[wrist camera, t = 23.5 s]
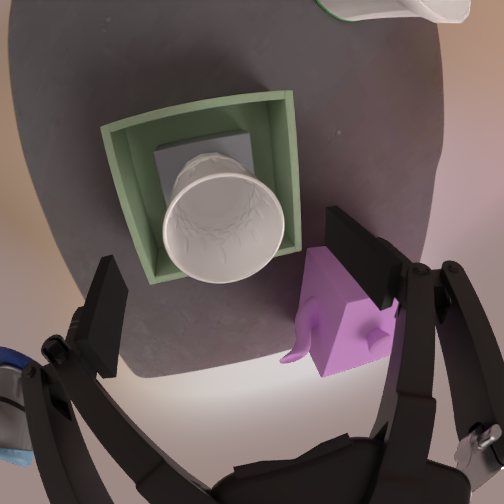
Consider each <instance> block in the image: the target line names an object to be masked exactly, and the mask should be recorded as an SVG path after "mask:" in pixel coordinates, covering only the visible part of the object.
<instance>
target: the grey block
mask: <svg viewBox="0 0 504 504" xmlns="http://www.w3.org/2000/svg"><path fill="white" fill-rule="evenodd" d="M214 152H218V153H221V154H224V155H226V156H229V157H232V158H233V159H234V160H235V161H237V162H239V163H240V164H242V165H243V166H244V167H245V168H247V169H248V170H249V171H250V172H251V173H253V174H254V175H255V173H254V164H253V156H252V148H251V140H250V133H249V132H247V131H245V130H243V129H236V130H229V131H223V132H218V133H212V134H207V135H202V136H197V137H192V138H187V139H182V140H178V141H173V142H169V143H165V144H161V145H158V146H157V148H156V149H155V151H154V157H155V161H156V166H157V170H158V174H159V178H160V182H161V187H162V191H163V195H164V199H165V202H166V206H168V202H169V199H170V195H171V192H172V189H173V186H174V184H175V181H176V179H177V176H178V174H179V173H180V171H181V170H182V168H183V167H184V165H185V164H186V162H188V161H189V160H191V159H193V158H194V157H196V156H198V155H200V154H203V153H214Z"/></svg>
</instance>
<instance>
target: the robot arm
mask: <svg viewBox="0 0 504 504" xmlns="http://www.w3.org/2000/svg"><path fill="white" fill-rule="evenodd" d="M325 246H326V247H327V248H328V249H329V250H330V252H331V253H332V254H333V255H334V256H335V257H336V258H337V260H338V261H339V262H340V263H341V264H342V265H343V267H344V268H345V269H346V270H347V271H348V272H349V274H350V275H351V276H352V277H353V278H354V280H355V281H356V282H357V283H358V284H359V286H360V287H361V288H362V289H363V290H364V292H365V293H366V294H367V295H368V297H369V298H370V299H371V300H372V301H373V303H374V304H375V305H376V306H377V308H378V309H379V310H380V311H382V310H385V309H387V308H390V307H392V305H393V301H394V298H395V299H396V300H397V301H398V302H399V303H398V306H397V310H396V313H395V316H394V318H396V322H395V330H394V337H393V344H392V350H391V356H390V361H389V367H388V372H387V377H386V382H385V386H384V391H383V396H382V399H381V403H380V407H379V411H378V415H377V419H376V422H375V424H374V426H373V429H372V431H371V433H370V436H369V438H368V437H349V435H348V433H346V434H343V435H341V436H338V437H336V438H334V439H331V440H328V441H325V442H323V443H320V444H319V445H318V446H316V447H314V448H312V449H311V450H309V451H308V452H306V453H304V454H303V455H301V456H299V457H298V458H296V459H291V460H276V461H275V460H273V461H259V462H255V463H250V464H246V465H241V466H236V467H233V468H234V472H233V473H231V474H229V475H227V476H225V477H224V478H222V479H221V480H220V481H218V482H217V483H216V484H215V485H214V486H213V487H212V489H211V488H209V487H208V486H207V485H205V484H204V483H202V482H201V481H199V480H198V479H196V478H195V477H194V476H192V475H191V474H189V473H188V472H187V471H186V470H185V469H183V468H182V467H181V466H180V465H179V464H177V463H176V462H175V461H174V460H173V459H171V458H170V457H169V456H168V455H167V454H166V453H165V452H164V451H163V450H161V449H160V448H159V447H158V446H157V445H156V444H155V443H154V442H153V441H152V440H151V439H150V438H149V437H148V436H147V435H146V434H145V433H144V432H143V431H142V430H141V429H140V428H139V427H138V426H137V425H136V424H135V423H134V422H133V421H132V420H131V419H130V418H129V417H128V415H126V414H125V412H124V411H123V410H122V409H121V408H120V407H119V405H118V404H117V403H116V402H115V401H114V400H113V398H112V397H111V396H110V395H109V394H108V392H107V391H106V390H105V389H104V388H103V386H102V385H101V384H100V383H99V381H98V380H97V379H96V375H97V372H98V373H99V375H100V376H101V377H102V378H103V379H104V378H113V377H116V374H117V364H118V355H119V347H120V339H121V332H122V325H123V319H124V313H125V307H126V301H127V296H128V288H127V286H126V284H125V282H124V280H123V278H122V275H121V273H120V271H119V269H118V266H117V264H116V262H115V259H114V257H113V255H109V256H105V257H102V258H101V260H100V263H99V265H98V268H97V270H96V273H95V276H94V278H93V281H92V284H91V286H90V289H89V292H88V295H87V298H86V301H85V304H84V306H82V307H78V309H77V310H76V311H75V313H74V314H73V317H72V320H71V324H70V326H69V330H68V333H67V336H66V339H65V340H64V339H63V337H61V336H60V335H53V336H51V337H49V338H48V339H47V340H46V341H45V342H44V343H43V345H42V348H41V352H42V355H43V356H44V357H45V358H46V359H47V361H48V362H49V364H47V365H45V366H42V367H41V366H40V365H39V364H38V363H37V362H35V361H32V362H29V363H28V364H27V365H26V366H25V367H24V368H21V367H19V366H16V365H13V364H9V363H2V364H0V459H2V460H4V461H7V462H9V463H12V464H15V465H19V466H23V467H28V466H30V465H31V463H32V457H33V453H34V455H35V459H36V463H37V466H38V470H39V473H40V476H41V479H42V482H43V485H44V488H45V490H46V493H47V496H48V498H49V501H50V504H114V503H113V501H112V499H111V498H110V496H109V494H108V492H107V490H106V488H105V486H104V484H103V482H102V480H101V478H100V476H99V474H98V472H97V470H96V468H95V465H94V463H93V461H92V459H91V457H90V454H89V452H88V449H87V447H86V444H85V442H84V439H83V437H82V434H81V431H80V428H79V426H78V423H77V420H76V417H75V414H74V411H73V408H72V404H71V401H70V400H72V402H73V404H74V405H75V407H76V408H77V410H78V411H79V413H80V414H81V416H82V418H83V419H84V420H85V422H86V423H87V425H88V426H89V427H90V429H91V430H92V432H93V433H94V434H95V436H96V437H97V439H98V440H99V441H100V443H101V444H102V445H103V446H104V448H105V449H106V450H107V451H108V453H109V454H110V455H111V456H112V458H113V459H114V460H115V461H116V462H117V463H118V464H119V466H120V467H121V468H122V469H123V470H124V471H125V472H126V474H127V475H128V476H129V477H130V478H131V479H132V480H133V481H134V482H135V484H136V489H137V491H138V492H139V493H140V494H141V495H142V496H143V497H144V498H145V499H146V500H147V501H148V502H149V503H150V504H471V493H472V492H474V491H475V490H476V489H478V488H479V487H480V486H482V485H483V484H484V483H485V482H486V481H488V480H489V479H490V478H491V477H493V476H494V475H495V474H496V473H497V472H498V471H500V470H501V469H502V468H504V361H503V358H502V355H501V352H500V349H499V346H498V344H497V341H496V338H495V336H494V333H493V331H492V328H491V326H490V323H489V321H488V319H487V316H486V314H485V311H484V309H483V307H482V305H481V303H480V301H479V298H478V296H477V294H476V292H475V290H474V288H473V286H472V284H471V282H470V280H469V278H468V277H467V275H466V273H465V271H464V269H463V268H462V266H461V265H460V264H458V263H457V262H454V261H445V262H443V264H442V268H441V269H437V270H431V269H430V268H429V267H428V266H427V265H425V264H422V263H412V262H411V261H410V260H409V259H408V258H407V257H406V256H405V255H403V254H402V253H401V252H400V251H398V249H397V248H395V247H393V245H392V244H391V243H390V242H388V241H387V240H385V239H383V238H380V237H378V238H375V237H374V236H373V235H372V234H371V233H369V232H368V231H367V230H366V229H365V228H364V227H362V226H361V225H360V224H359V223H358V222H356V221H355V220H354V219H353V218H351V217H350V216H349V215H348V214H347V213H345V212H344V211H343V210H342V209H340V208H339V207H338V206H331V207H326V232H325ZM435 326H436V329H437V333H438V337H439V340H440V344H441V348H442V352H443V356H444V361H445V365H446V370H447V375H448V380H449V386H450V391H451V397H452V404H453V411H454V419H455V425H456V431H457V435H458V439H459V442H460V443H459V445H458V447H457V451H456V453H455V455H454V459H455V461H456V462H457V467H456V468H454V467H450V466H447V465H444V464H441V463H438V462H435V461H432V460H429V459H427V457H428V453H429V449H430V443H431V438H432V432H433V427H434V420H435V413H436V399H435V398H433V397H432V388H433V387H432V386H433V376H434V360H435Z"/></svg>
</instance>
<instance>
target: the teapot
mask: <svg viewBox="0 0 504 504" xmlns="http://www.w3.org/2000/svg"><path fill="white" fill-rule="evenodd" d="M398 303H399V302H398V301H397V300H396V299H395V298H394V301H393V305H392V307H390V308H387V309H385V310H382V311H380V310H379V309H378V308H377V306H376V305H375V304H374V303H373V301H372V300H371V299H370V298H369V297H368V295H367V294H366V293H365V292H364V290H363V289H362V288H361V287H360V286H359V284H358V283H357V282H356V281H355V280H354V278H353V277H352V276H351V275H350V274H349V272H348V271H347V270H346V269H345V268H344V267H343V265H342V264H341V263H340V262H339V261H338V260H337V258H336V257H335V256H334V255H333V254H332V253H331V252H330V250H329V249H328V248H327V247H326V246H320V247H311V248H307V251H306V258H305V266H304V273H303V281H302V288H301V295H300V301H299V308H298V311H297V314H296V319H295V333H296V342H295V346H294V347H293V349H292V351H290V352H289V353H288V354H287V355H285V356H284V357H283V358H282V359H281V360H280V363H290V362H294V361H296V360H299V359H301V358H303V357H304V356H305V355H306V354H307V353H308V351H309V353H310V355H311V357H312V359H313V361H314V363H315V365H316V367H317V370H318V371H319V374H320V376H321V377H326V376H329V375H332V374H336V373H339V372H343V371H345V370H349V369H352V368H355V367H358V366H361V365H364V364H367V363H370V362H373V361H375V360H378V359H381V358H383V357H386V356H389V355H390V354H391V350H392V344H393V337H394V330H395V322H396V318H394V316H395V313H396V310H397V306H398Z"/></svg>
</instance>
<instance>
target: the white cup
mask: <svg viewBox="0 0 504 504" xmlns="http://www.w3.org/2000/svg"><path fill="white" fill-rule="evenodd" d="M284 225H285V223H284V214H283V210H282V207H281V205H280V203H279V201H278V199H277V197H276V196H275V195H274V193H273V192H272V191H271V190H270V189H269V188H268V187H267V186H266V185H265V184H264V183H262V182H261V181H260V180H259V179H258V178H257V177H256V176H255V175H254V174H253V173H251V172H250V171H249V170H248V169H247V168H245V167H244V166H243V165H242V164H240V163H239V162H237V161H235V160H234V159H233V158H232V157H229V156H226V155H224V154H221V153H218V152H214V153H203V154H200V155H198V156H196V157H194V158H193V159H191V160H189V161H188V162H186V164H185V165H184V167H183V168H182V170H181V171H180V173H179V174H178V176H177V179H176V181H175V184H174V186H173V189H172V192H171V195H170V199H169V202H168V206H167V210H166V214H165V218H164V222H163V242H164V246H165V249H166V251H167V253H168V255H169V257H170V259H171V260H172V262H173V263H174V264H175V265H176V266H177V267H178V268H179V269H180V270H181V271H182V272H184V273H185V274H187V275H189V276H190V277H192V278H195V279H197V280H200V281H204V282H209V283H230V282H235V281H239V280H242V279H244V278H247V277H249V276H251V275H253V274H255V273H256V272H258V271H259V270H260V269H262V268H263V267H264V266H265V265H266V264H267V263H268V262H269V261H270V260H271V259H272V258H273V256H274V255H275V254H276V252H277V250H278V248H279V246H280V244H281V241H282V238H283V234H284Z"/></svg>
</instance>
